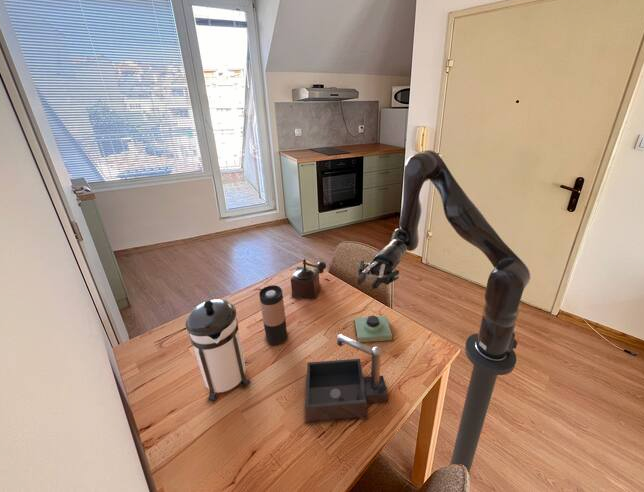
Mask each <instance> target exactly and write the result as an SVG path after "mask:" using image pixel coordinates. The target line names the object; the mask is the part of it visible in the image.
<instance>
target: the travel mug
mask: <svg viewBox="0 0 644 492" xmlns="http://www.w3.org/2000/svg"><path fill="white" fill-rule="evenodd" d="M258 295H259V303H260V310H261V316H262V322H263V328H264V332H265V338H266V341H267V343H268V344H270V345H272V346H274V345H275V346H277V345H281V344H282V343H284V342H285V341H286V340H287V338H288V337H287V335H288V333H287V321H286V320H287V319H286V312H285V304H284V296H283V289H282V288H281V287H280V286H279V285H267V286H265V287H263V288H262V289H260V291H259V293H258Z"/></svg>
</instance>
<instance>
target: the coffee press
mask: <svg viewBox="0 0 644 492" xmlns="http://www.w3.org/2000/svg"><path fill="white" fill-rule="evenodd" d="M185 330H186V332H188V334H189V339H190V343H191V345H192V346H193V350H194V353H195V356H196V357H195V358H196V360H197V364H198V367H199V370H200V374H201V377H202V380H203V383H204V386H205V387H206V389H208V390H209V394H208V401H210V402H215V401H216V399H217V395H218V393H225V392H227V391H228V392H229V391H230V390H232V389H234V388H235V387H237V386H238V385H239V384H240V385H242V386H243V387H248V385H249V384H250V380H249V379H248V378H247V377H246V371H247V366H246V365H247V364H246V360H245V356H244V351H243V346H242V345H243V344H242V341H241V336H240V331H239V322H238V318H237V309H236V307H235V305H233V303H231V302H229V301H227V300H225V299H218V298H217V299H216V298H215V299H210V300H206V301H203V302H202V303H200V304H198V305H196V306H195V307H194V308H193V309H192V310H191V311H190V312H189V314H188V316H187V318H186V320H185Z"/></svg>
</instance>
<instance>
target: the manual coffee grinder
mask: <svg viewBox="0 0 644 492" xmlns="http://www.w3.org/2000/svg"><path fill="white" fill-rule="evenodd" d="M302 265H303V266H297V267H296V268H295V270H294V272H293V274H292V276H291V277H290V286H291V295H292V296H291V297H292V298H294V299H301V300H315V299H316V298H317V296H318V293H319V291H320V286H321V284H320V283H321V282H320V274H324V270H325V269H326V268H327V264H326V262H324V261H321V260H320V261H318V262H317V264H313V263H309V262H307V259H306V258H303V259H302ZM307 266H309V267H307Z"/></svg>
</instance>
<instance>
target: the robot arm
mask: <svg viewBox="0 0 644 492" xmlns="http://www.w3.org/2000/svg"><path fill="white" fill-rule="evenodd" d="M403 171H404V172H403V199H402V200H403V202H402V207H401V212H400V217H399V221H398V222H399V223H398V226H399V228H395V229H394V230H393V231H392V234H391V237H390V241H389V242H388V243H387V244H386V245H385V246H384V247H382V249H381V250H380V251H379V252H377V254H376V255H375V256H374V257H373V259H372V260H370V261H369V262H365V260H364V259H362V260H360V263H359V265H358V277H357V284H358V285H360V286H361V285H363V283H364V282H365V281H366V280H367V279H368V278H371V277H373V276H376V278H375V279H374V280H373V281H372V283H371V290H376V289H378V288H379V287H380V286H381V285H382V284H384V285H385V286H388V285H390V284H391V283H393V282H395V281H397V280H398V279H399V277H400V271H399V269H397V266H399V264H400V262H401V261H402V259H403V257H404V256H405V255H406V253H407V251H408V252H413V251H415V250H416V249H417V247H418V246H419V243H420V235H419V234H420V233H419V225H420V221H421V217H422V211H423V209H422V203H421V200H420V193H421V190H422V188H423V185H424V184H425V182H427V181H430V182H431V183H432V184H433V186H434V187H435V188H436V190H437V192H438V194H439V195H440V198H441V199H440V200H441V203H442V208H443V213H444V216H445V218H446V220H447V222H448V223H449V224H450V226H451V227H452V229H453V230H454V231H455V233H456V234H457V235H458V236H459V237H460V238H461V239H463V240H464V241H466V243H469V244H470V245H472V246H473V247H475V248H477V249H478V250H479V251H481V252H482V254H483V255H485V256H486V258H487V260H488V261H490V264H491V265H492V266H493V269H492V271H491V272H490V273H489V275H488V278H487V283H486V287H485V288H486V289H485V292H484V306H483V311H482V315H481V320H480V323H479V328H478V332H477V333H478V336H477V341H476V343H475V348H476V351H477V352H478V353H479V355H481V356H482V357H483V358H485V359H487V360H489V361H493V362H501V361H503V360H505V358H506V357H509V354H510V351H511V349H513V350H514V349H517V346H518V341H517V340H516V338H515V337H516V334H515V331H514V330H515V327H516V324H517V321H518V317H519V313H520V310H521V307H520V304H521V300H522V296H523V293H524V291H525V289H526V288H527V286H528V285H529V283H530V280H531V272H530V269H529V267H528V266H527V265H526V263H525V262H524V261H523V259H521V258H520V257H519V256H518V254H516V253H515V252H514V251H513V250H512V249H511V248H510V247H509V246H508V244H507V243H506V242H504V240H503V239H502V238H501V237H500V235H499V234H498V233H497V231H496V230H495V229H494V227H492V225H491V224H490V223H489V221H488V220H487V218H486V217H485V215H484V214H483V213H482V212H481V211H480V209H479V208H478V206H476V204H475V203H474V202H473V201H472V200H471V198H470V197H469V196H468V195H467V193H466V192H465V191H464V190H463V188H462V187H461V185H460V184H459V183H458V181H457V180H456V178H455V177H454V176H453V174H452V173H451V171H450V169H449V168H448V166H447V164H446V162H445V161H444V159H443V158H442V157H441V155H439V153H437V152H436V151H434V150H431V149H426V150H423V151H421V152H418V153H416V154H413V155H411V156H409V158H408V159H407V160H406V162H405V164H404V170H403ZM395 269H396V270H395Z"/></svg>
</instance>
